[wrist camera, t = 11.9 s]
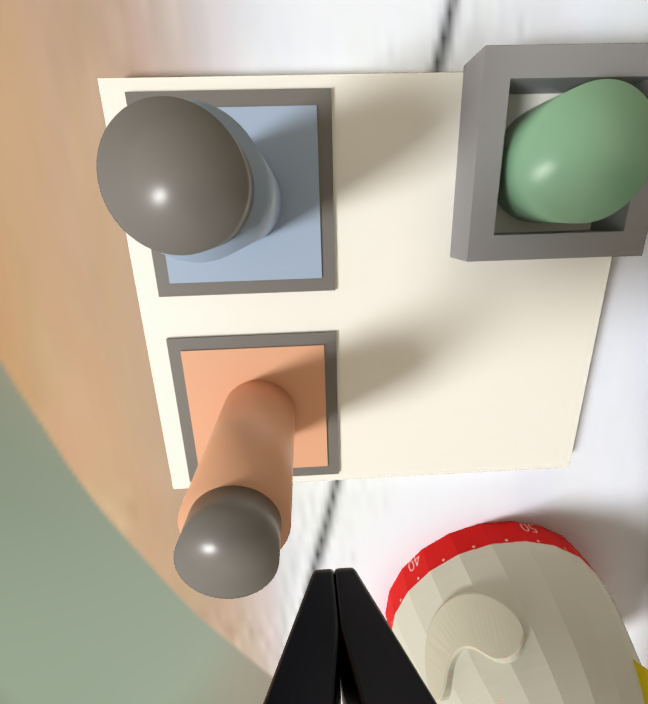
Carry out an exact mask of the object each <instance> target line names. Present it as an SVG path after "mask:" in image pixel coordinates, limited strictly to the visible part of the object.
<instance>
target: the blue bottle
mask: <svg viewBox="0 0 648 704" xmlns="http://www.w3.org/2000/svg"><path fill="white" fill-rule="evenodd" d="M97 178H98V184H99V188H100V192H101V195H102V197H103V200H104V202H105V204H106V206H107V208H108V210H109V212H110V213H111V215H112V216H113V218H114V220H115V221H116V222H117V223H118V224H119V226H120V227H121V228H122V229H123V230H124V231H125V232H126V233H127V234H128V235H129V236H131V237H132V238H133V239H135V240H136V241H137V242H139V243H141V244H142V245H144V246H146V247H148V248H150V249H152V250H154V251H158V252H160V253H162V254H164V255H167V256H169V257H171V258H174V259H177V260H181V261H186V262H196V263H202V262H211V261H215V260H219V259H222V258H224V257H227V256H229V255H231V254H233V253H235V252H237V251H238V250H240V249H242V248H244V247H246V246H248V245H250V244H252V243H254V242H256V241H258V240H260V239H261V238H263V237H265V236H266V235H267V234H268V233H269V232H270V231H271V230H272V229H273V228H274V226H275V224H276V223H277V221H278V218H279V216H280V212H281V206H282V197H281V190H280V187H279V184H278V181H277V179H276V177H275V175H274V174H273V172H272V171H271V169H270V167H269V166H268V164H267V163H266V161H265V160H264V158H263V156H262V155H261V153H260V152H259V150H258V149H257V147H256V145H255V144H254V142H253V141H252V139H251V138H250V136H249V135H248V133H247V132H246V131H245V130H244V129H243V128H242V126H241V125H240V124H239V123H238V122H236V121H235V120H234V119H233V118H232V117H231V116H229V115H228V114H227V113H225V112H224V111H222V110H220V109H218V108H216V107H215V106H213V105H210V104H207V103H205V102H201V101H197V100H192V99H181V98H177V97H172V96H153V97H148V98H144V99H141V100H138V101H136V102H133V103H131V104H130V105H128V106H126V107H125V108H123V109H122V110H121V111H120V112H119V113H118V114H116V116H115V117H114V118H113V119H112V120H111V121H110V123H109V124H108V126H107V128H106V129H105V131H104V133H103V136H102V138H101V141H100V144H99V148H98V153H97Z"/></svg>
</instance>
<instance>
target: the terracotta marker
mask: <svg viewBox="0 0 648 704" xmlns="http://www.w3.org/2000/svg"><path fill="white" fill-rule="evenodd" d="M294 432H295V406H294V403H293V401H292V399H291V397H290V395H289V394H288V393H287V392H286V391H285V390H284V389H283V388H282V387H280V386H278V385H277V384H275V383H272V382H269V381H264V380H253V381H248V382H245V383H242V384H240V385H238V386H237V387H236V388H234V389H233V390H232V391H231V392H230V393H229V395H228V396H227V398H226V400H225V403H224V405H223V407H222V410H221V412H220V415H219V417H218V419H217V422H216V424H215V426H214V429H213V431H212V434H211V436H210V438H209V441H208V443H207V445H206V448H205V450H204V453H203V455H202V457H201V460H200V462H199V464H198V467H197V469H196V472H195V474H194V476H193V479H192V481H191V483H190V486H189V488H188V491H187V493H186V495H185V498H184V500H183V502H182V505H181V507H180V510H179V514H178V529H179V532H180V537H179V539H178V542H177V544H176V547H175V551H174V564H175V568H176V570H177V572H178V574H179V576H180V577H181V579H182V580H183V581H184V582H185V583H186V584H187V585H188V586H189V587H191V588H192V589H194V590H196V591H197V592H199V593H202V594H204V595H207V596H210V597H215V598H222V599H234V598H241V597H245V596H248V595H251V594H254V593H256V592H258V591H259V590H261V589H263V588H264V587H265V586H266V585H268V583H269V582H270V581H271V580H272V579H273V578H274V576H275V574H276V572H277V569H278V565H279V556H280V549H281V548H282V547H283V545H284V544H285V542H286V541H287V539H288V536H289V533H290V528H291V509H292V483H293V458H294Z"/></svg>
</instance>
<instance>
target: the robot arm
mask: <svg viewBox="0 0 648 704" xmlns="http://www.w3.org/2000/svg"><path fill="white" fill-rule="evenodd" d="M341 692H342V701H343V704H437V703H436V701H435V699H434V698H433V696H432V694H431V693H430V691H429V690H428V688H427V686H426V685H425V683H424V681H423V680H422V678H421V676H420V675H419V673H418V672H417V670H416V668H415V667H414V665H413V663H412V662H411V660H410V658H409V657H408V655H407V654H406V652H405V650H404V649H403V647H402V645H401V644H400V642H399V641H398V639H397V637H396V636H395V634H394V632H393V631H392V629H391V627H390V626H389V624H388V623H387V621H386V619H385V618H384V616H383V614H382V613H381V611H380V609H379V608H378V606H377V605H376V603H375V601H374V600H373V598H372V596H371V595H370V593H369V592H368V590H367V588H366V587H365V585H364V583H363V582H362V580H361V578H360V577H359V575H358V574H357V572H356V571H355V569H353V568H338V569H336V570H335V571H333V570H332V569H323V570H315V571H314V572H313V574H312V577H311V579H310V582H309V585H308V587H307V590H306V592H305V595H304V598H303V600H302V603H301V606H300V608H299V611H298V613H297V616H296V619H295V621H294V624H293V627H292V629H291V632H290V634H289V637H288V640H287V642H286V645H285V648H284V650H283V653H282V655H281V658H280V661H279V663H278V666H277V669H276V671H275V674H274V677H273V679H272V682H271V684H270V687H269V690H268V692H267V696H266V698H265V701H264V703H263V704H341Z"/></svg>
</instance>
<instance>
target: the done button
mask: <svg viewBox="0 0 648 704" xmlns="http://www.w3.org/2000/svg"><path fill="white" fill-rule="evenodd" d="M647 177H648V99H647V98H646V97H645V95H644V94H643V93H642V92H641V91H640V90H639V89H637V88H636V87H634V86H633V85H631V84H629V83H626V82H624V81H620V80H616V79H599V80H594V81H590V82H587V83H585V84H582V85H580V86H578V87H576V88H573V89H571V90H569V91H567V92H565V93H563V94H561V95H559V96H557V97H555V98H552V99H550V100H548V101H546V102H544V103H542V104H540V105H538V106H536V107H534V108H531V109H530V110H528V111H526V112H524V113H523V114H521V115H520V116H519V117H517V118H516V119H515V120H514V121H513V122H512V123H511V124H510V125H509V127H508V128H507V129H506V130H505V135H504V144H503V153H502V163H501V172H500V182H499V191H498V202H499V204H500V205H501V206H502V208H503V209H504V210H505V211H506V212H507V213H509V214H510V215H511V216H513V217H515V218H517V219H519V220H522V221H526V222H539V223H590V222H594V221H598V220H601V219H603V218H606V217H608V216H610V215H612V214H614V213H615V212H617V211H618V210H620V209H621V208H622V207H623V206H625V205H626V204H627V203H628V202H629V201H630V200H631V199H632V198H633V197H634V196H635V195H636V193H637V192H638V191H639V190H640V188H641V187H642V185H643V184H644V182H645V181H646V179H647Z"/></svg>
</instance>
